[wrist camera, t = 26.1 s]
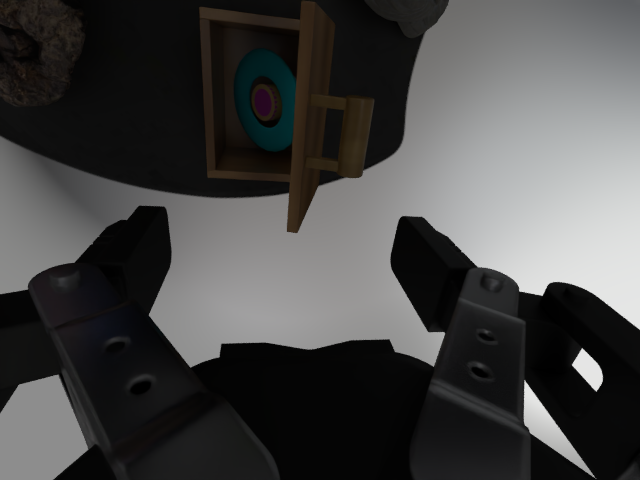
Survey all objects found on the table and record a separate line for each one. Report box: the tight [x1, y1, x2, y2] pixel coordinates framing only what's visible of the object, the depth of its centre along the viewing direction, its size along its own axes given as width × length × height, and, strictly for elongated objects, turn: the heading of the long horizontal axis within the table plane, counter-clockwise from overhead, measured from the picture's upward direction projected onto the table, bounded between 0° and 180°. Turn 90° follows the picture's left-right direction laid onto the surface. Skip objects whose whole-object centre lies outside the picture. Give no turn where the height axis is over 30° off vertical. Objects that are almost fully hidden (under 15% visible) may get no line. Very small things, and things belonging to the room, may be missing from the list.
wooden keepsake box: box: [199, 7, 300, 182], centre depth 36 cm, size 11×14×11 cm
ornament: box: [234, 48, 296, 152], centre depth 38 cm, size 11×4×10 cm
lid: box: [287, 1, 374, 233], centre depth 27 cm, size 11×14×5 cm
